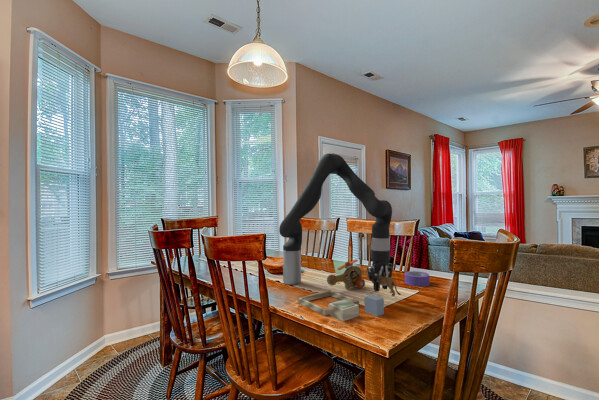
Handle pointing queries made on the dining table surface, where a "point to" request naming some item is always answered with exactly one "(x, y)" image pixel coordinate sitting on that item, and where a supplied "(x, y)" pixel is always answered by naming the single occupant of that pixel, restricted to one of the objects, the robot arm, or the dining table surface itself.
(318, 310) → the grey rectangular frame
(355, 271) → the toy helicopter
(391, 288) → the lion figurine
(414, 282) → the tape roll
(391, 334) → the dining table surface
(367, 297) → the fin block
